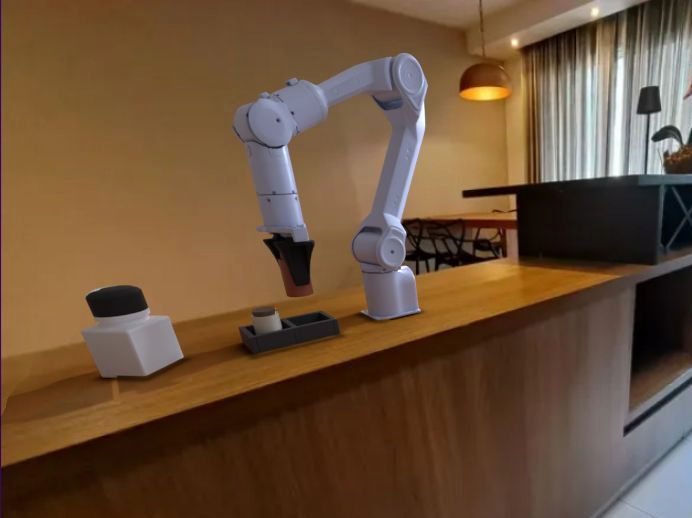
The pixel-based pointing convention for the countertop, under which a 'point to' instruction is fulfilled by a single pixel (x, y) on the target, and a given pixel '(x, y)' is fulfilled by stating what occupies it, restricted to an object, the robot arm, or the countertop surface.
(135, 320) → the medicine bottle
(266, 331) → the cream jar
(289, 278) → the spice bottle
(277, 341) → the holder
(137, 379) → the countertop surface
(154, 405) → the countertop surface
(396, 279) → the robot arm
